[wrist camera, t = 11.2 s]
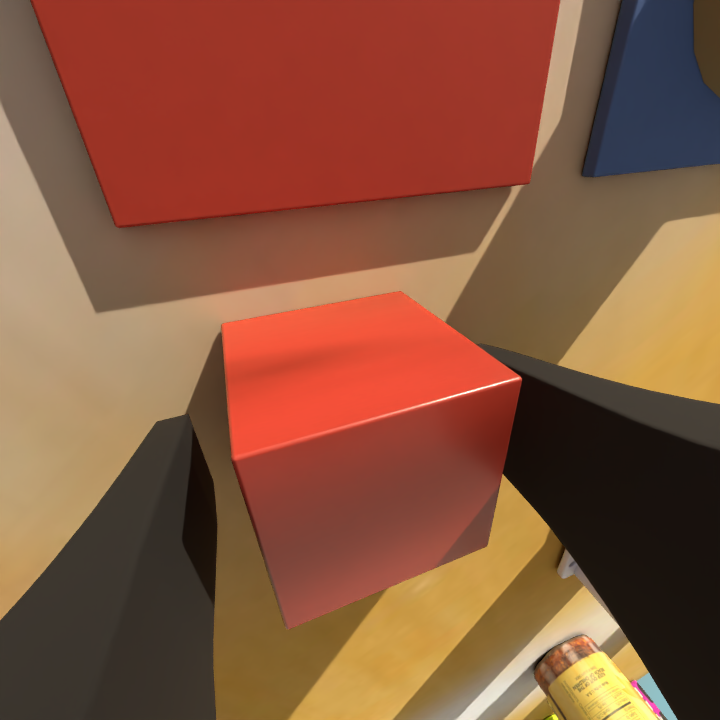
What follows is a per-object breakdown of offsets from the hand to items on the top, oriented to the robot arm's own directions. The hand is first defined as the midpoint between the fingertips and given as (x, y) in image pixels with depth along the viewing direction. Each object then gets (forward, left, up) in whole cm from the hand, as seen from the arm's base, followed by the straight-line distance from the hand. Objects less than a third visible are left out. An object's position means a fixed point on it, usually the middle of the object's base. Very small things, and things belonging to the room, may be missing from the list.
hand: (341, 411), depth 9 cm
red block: (0, 0, -1) cm, 1 cm away
